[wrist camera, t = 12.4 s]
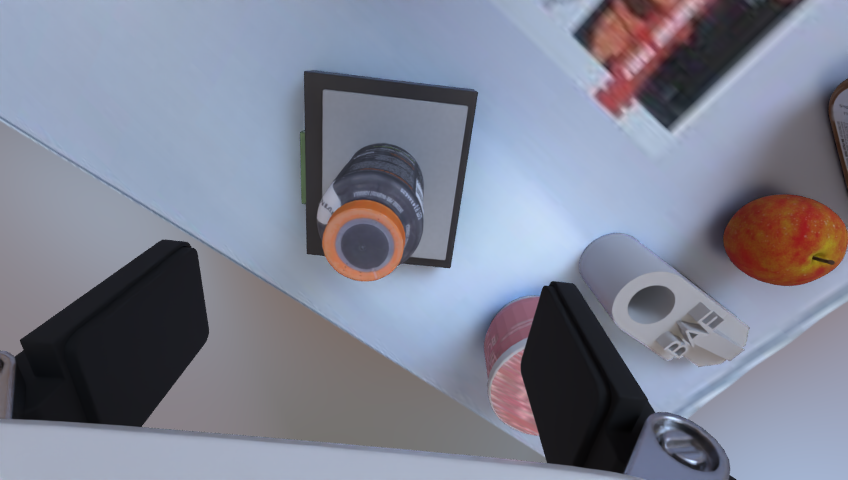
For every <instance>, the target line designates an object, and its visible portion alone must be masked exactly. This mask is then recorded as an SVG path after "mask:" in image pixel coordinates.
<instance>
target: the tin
mask: <svg viewBox="0 0 848 480" xmlns="http://www.w3.org/2000/svg"><path fill="white" fill-rule="evenodd" d="M828 110H829V118H830V122H831V126H832V130H833V134H834V138H835V142H836V146H837V150H838V154H839V158H840V162H841V166H842V170H843V174H844V178H845V182H846V186H847V189H848V79H846V80H845V81H843V82H842V83H841V84H840V85H839V86H838V87H837V88H836V89H835V90H834V92H833V93H832V95H831V98H830V101H829V108H828Z"/></svg>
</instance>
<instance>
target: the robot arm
mask: <svg viewBox="0 0 848 480" xmlns="http://www.w3.org/2000/svg"><path fill="white" fill-rule="evenodd" d="M208 334H209V327H208V320H207V313H206V307H205V300H204V293H203V287H202V280H201V273H200V267H199V260H198V254H197V251H196V249H194V248H191V246H190V244H189V243H188V242H182V241H173V240H161V241H160V242H158V243H156V244H155V245H154V246H152V247H151V248H149V249H148V250H147V251H145V252H144V253H143V254H141V255H140V256H138V257H137V258H135V259H134V260H132V261H131V262H130V263H128V264H127V265H125V266H124V267H123V268H121V269H120V270H118V271H117V272H116V273H114V274H113V275H111V276H110V277H108V278H107V279H106V280H104V281H103V282H101V283H100V284H98V285H97V286H96V287H94V288H93V289H91V290H90V291H89V292H87V293H86V294H84V295H83V296H82V297H80V298H79V299H77V300H76V301H74V302H73V303H72V304H70V305H69V306H67V307H66V308H65V309H63V310H62V311H60V312H59V313H57V314H56V315H55V316H53V317H52V318H50V319H49V320H48V321H46V322H45V323H44V324H42V325H41V326H39V327H38V328H37V329H35V330H34V331H32V332H31V333H29V334H28V335H26V336H25V337H24V338H22V339H21V340H20V342H21V345H22V347H23V349H24V350H23V351H22V352H21V353H19V354H18V355H16V356H15V357H14V356H13V355H12V354H10V353H8V352H6V351H0V480H736V479H735V478H733V477H732V476H730V475H729V474H730V464H729V459H728V457H727V455H726V453H725V451H724V449H723V448H722V447H721V445H720V444H719V443H718V442H717V441H716V439H715V438H713V437H712V436H711V435H710V434H709V433H708V432H707V431H706V430H704V429H703V428H701V427H700V426H698V425H697V424H695V423H694V422H692V421H690V420H688V419H686V418H684V417H681V416H679V415H675V414H671V413H668V412H657V413H655V412H654V410H653V408H652V407H651V405H650V404H649V402H648V399H647V397H646V396H645V394H644V393H643V391H642V389H641V388H640V386H639V385H638V383H637V382H636V380H635V378H634V377H633V375H632V374H631V372H630V370H629V369H628V367H627V366H626V364H625V363H624V361H623V359H622V358H621V356H620V355H619V353H618V352H617V350H616V348H615V347H614V345H613V344H612V342H611V341H610V339H609V337H608V336H607V334H606V333H605V331H604V329H603V328H602V326H601V325H600V323H599V322H598V320H597V318H596V317H595V315H594V314H593V312H592V311H591V309H590V307H589V306H588V304H587V303H586V301H585V300H584V298H583V296H582V295H581V293H580V292H579V290H578V289H577V287H576V285H575V284H573V283H565V282H555V281H552V282H551V283H550V285H549V286H544V287H543V289H542V291H541V295H540V298H539V301H538V305H537V308H536V311H535V315H534V318H533V322H532V325H531V328H530V332H529V335H528V339H527V342H526V345H525V349H524V352H523V355H522V359H521V375H522V378H523V382H524V385H525V389H526V392H527V395H528V399H529V402H530V406H531V409H532V413H533V416H534V419H535V423H536V426H537V430H538V433H539V437H540V440H541V444H542V447H543V450H544V454H545V457H546V460H547V463H540V462H530V461H522V460H512V459H503V458H493V457H481V456H471V455H460V454H449V453H439V452H428V451H417V450H406V449H395V448H383V447H373V446H360V445H350V444H338V443H327V442H316V441H303V440H292V439H280V438H269V437H257V436H244V435H233V434H220V433H208V432H195V431H183V430H171V429H159V428H146V427H142V425H143V424H144V423H145V421H146V420H147V419H148V417H149V416H150V415H151V414H152V412H153V411H154V409H155V408H156V407H157V406H158V404H159V403H160V402H161V400H162V399H163V398H164V396H165V395H166V394H167V392H168V391H169V390H170V389H171V387H172V386H173V385H174V383H175V382H176V381H177V379H178V378H179V377H180V376H181V374H182V373H183V371H184V370H185V369H186V367H187V366H188V365H189V364H190V362H191V361H192V360H193V358H194V357H195V356H196V354H197V353H198V352H199V350H200V349H201V348H202V347H203V345H204V344H205V342H206V341H207V338H208Z"/></svg>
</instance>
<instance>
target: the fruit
mask: <svg viewBox="0 0 848 480" xmlns="http://www.w3.org/2000/svg"><path fill="white" fill-rule="evenodd" d="M723 241H724V247H725V251H726V253H727V255H728V257H729V259H730V260H731V261H732V262H733V264H734V265H735V266H736V267H737V268H738V269H740V270H741V271H742V272H744V273H745V274H747V275H748V276H750V277H753V278H755V279H757V280H759V281H762V282H766V283H770V284H774V285H782V286H793V285H800V284H805V283H808V282H811V281H814V280H816V279H818V278H820V277H822V276H824V275H826V274H828V273H829V272H831V271H832V270H833V269H835V268H836V267H837V266H838V265H839V264H840V262H841V261H842V259H843V257H844V255H845V252H846V249H847V244H848V233H847V229H846V226H845V224H844V223H843V221H842V220H841V218H840V217H839V216H838V215H837V214H836V213H835V212H833V211H832V210H831V209H830V208H828V207H827V206H825V205H823V204H822V203H820V202H818V201H815V200H813V199H810V198H806V197H803V196H798V195H789V194H781V195H771V196H765V197H762V198H759V199H756V200H754V201H751V202H749V203H748V204H746V205H744V206H743V207H742V208H741V209H739V210H738V211H737V212H736V213H735V214H734V216H733V217H732V218H731V220H730V221H729V223H728V224H727V226H726V228H725V231H724V236H723Z"/></svg>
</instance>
